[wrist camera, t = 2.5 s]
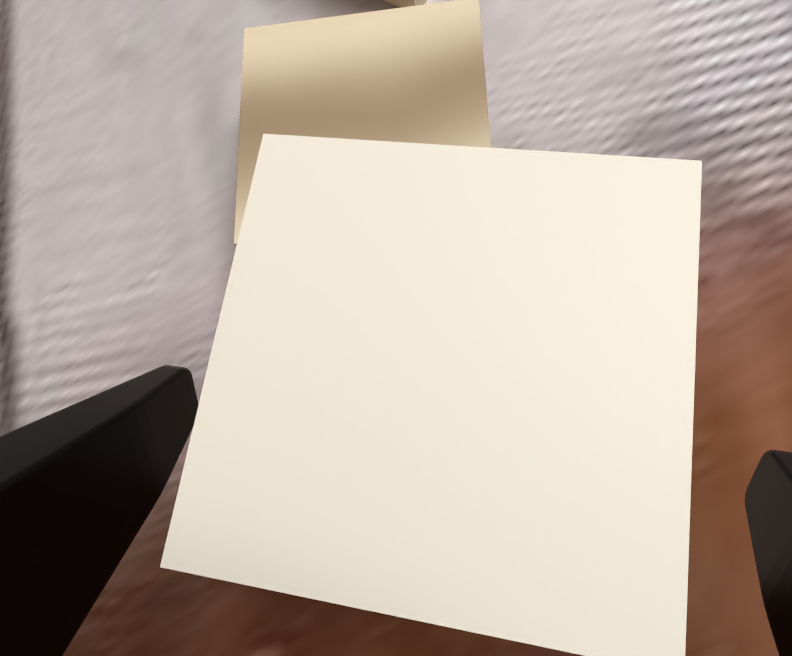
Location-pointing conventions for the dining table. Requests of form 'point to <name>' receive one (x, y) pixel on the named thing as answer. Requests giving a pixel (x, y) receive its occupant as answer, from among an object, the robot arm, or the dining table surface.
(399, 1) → the cube
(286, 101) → the tan glossy block
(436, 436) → the pillar
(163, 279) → the dining table surface
